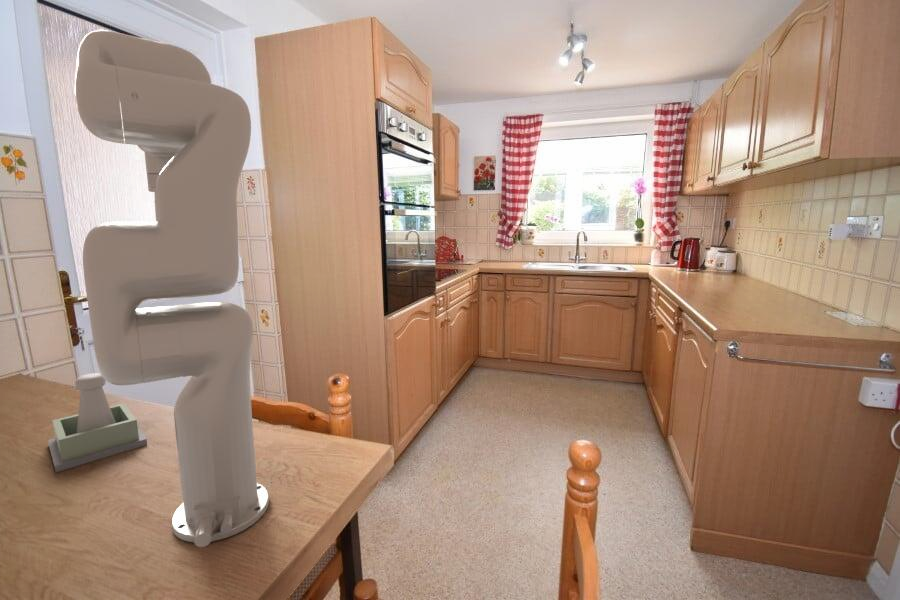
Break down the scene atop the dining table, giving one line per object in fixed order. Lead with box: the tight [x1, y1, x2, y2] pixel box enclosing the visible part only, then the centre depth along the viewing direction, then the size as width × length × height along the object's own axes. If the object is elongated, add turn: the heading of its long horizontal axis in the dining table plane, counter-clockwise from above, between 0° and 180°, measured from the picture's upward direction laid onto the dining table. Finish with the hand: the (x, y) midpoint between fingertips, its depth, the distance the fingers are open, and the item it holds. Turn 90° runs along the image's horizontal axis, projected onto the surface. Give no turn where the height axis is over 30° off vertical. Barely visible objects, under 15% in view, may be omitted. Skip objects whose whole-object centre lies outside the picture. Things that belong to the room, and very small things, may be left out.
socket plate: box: [47, 402, 148, 473], centre depth 80 cm, size 13×13×5 cm
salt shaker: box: [75, 372, 116, 433], centre depth 79 cm, size 6×6×13 cm
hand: (177, 266), depth 90 cm, fingers open, 9 cm apart
